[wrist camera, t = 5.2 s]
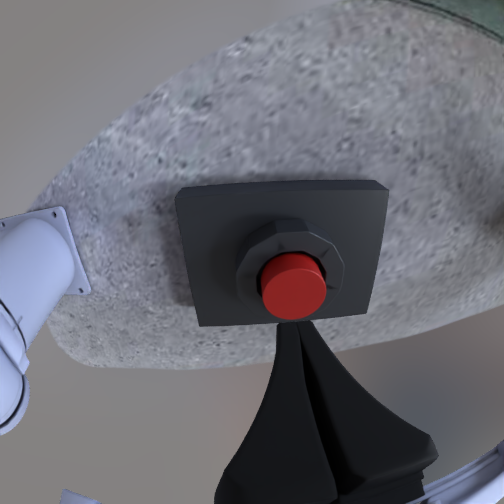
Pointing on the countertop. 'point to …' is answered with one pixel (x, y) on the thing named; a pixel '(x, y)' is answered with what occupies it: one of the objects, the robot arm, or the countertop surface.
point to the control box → (280, 243)
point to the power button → (292, 286)
